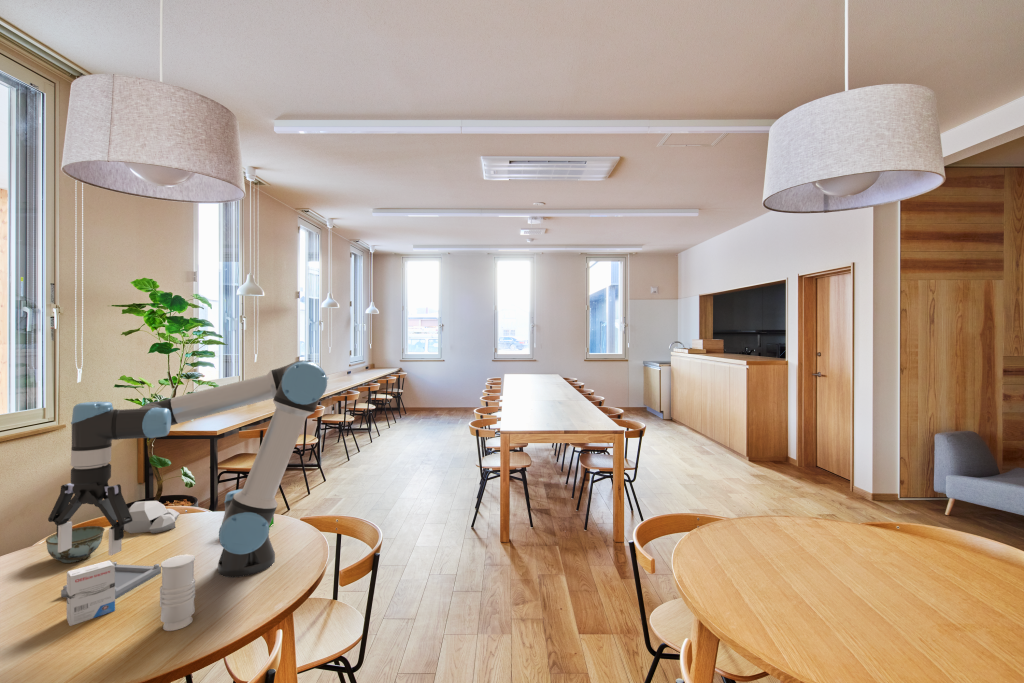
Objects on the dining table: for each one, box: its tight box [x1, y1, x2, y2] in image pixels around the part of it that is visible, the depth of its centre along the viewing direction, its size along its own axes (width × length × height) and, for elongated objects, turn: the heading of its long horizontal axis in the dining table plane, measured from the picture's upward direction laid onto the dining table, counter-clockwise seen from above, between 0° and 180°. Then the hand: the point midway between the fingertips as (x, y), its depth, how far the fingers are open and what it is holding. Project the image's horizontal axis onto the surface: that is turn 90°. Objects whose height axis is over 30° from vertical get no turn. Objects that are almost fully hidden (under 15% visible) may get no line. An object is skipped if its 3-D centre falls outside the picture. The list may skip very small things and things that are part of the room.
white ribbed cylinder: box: [159, 553, 196, 632], centre depth 115 cm, size 7×7×15 cm
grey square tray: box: [60, 561, 162, 600], centre depth 133 cm, size 15×15×3 cm
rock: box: [124, 500, 180, 534], centre depth 174 cm, size 18×20×10 cm
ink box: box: [66, 559, 116, 627], centre depth 118 cm, size 8×5×12 cm, turn 141°
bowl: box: [45, 525, 105, 564], centre depth 148 cm, size 14×13×8 cm
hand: (89, 551), depth 118 cm, fingers open, 13 cm apart
